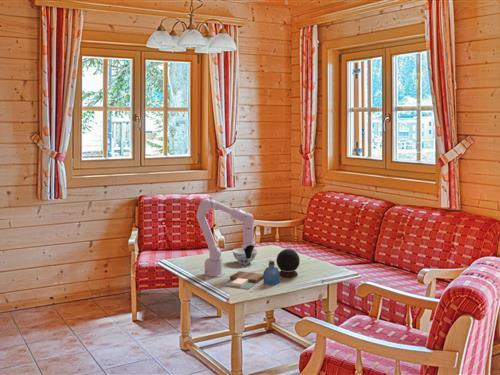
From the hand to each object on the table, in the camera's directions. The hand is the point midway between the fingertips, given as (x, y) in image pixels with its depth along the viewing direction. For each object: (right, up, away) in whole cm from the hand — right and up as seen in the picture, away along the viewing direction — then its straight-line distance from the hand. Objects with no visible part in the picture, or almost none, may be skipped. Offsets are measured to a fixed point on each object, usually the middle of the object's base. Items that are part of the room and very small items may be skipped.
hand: (248, 258), depth 315 cm
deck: (0, -10, -7) cm, 13 cm away
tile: (-5, -11, -17) cm, 21 cm away
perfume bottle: (+13, -12, -15) cm, 23 cm away
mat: (-5, -12, -18) cm, 22 cm away
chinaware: (-2, -6, +26) cm, 27 cm away
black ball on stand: (+22, -10, 0) cm, 24 cm away
